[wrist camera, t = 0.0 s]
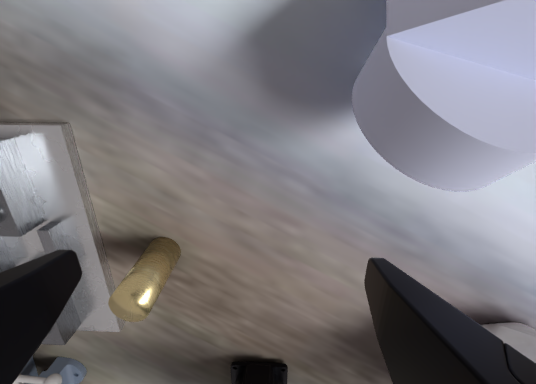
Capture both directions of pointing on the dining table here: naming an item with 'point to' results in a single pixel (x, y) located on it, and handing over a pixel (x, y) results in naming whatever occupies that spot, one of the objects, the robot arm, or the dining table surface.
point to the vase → (516, 337)
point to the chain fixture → (53, 220)
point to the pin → (145, 281)
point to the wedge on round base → (452, 91)
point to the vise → (53, 373)
